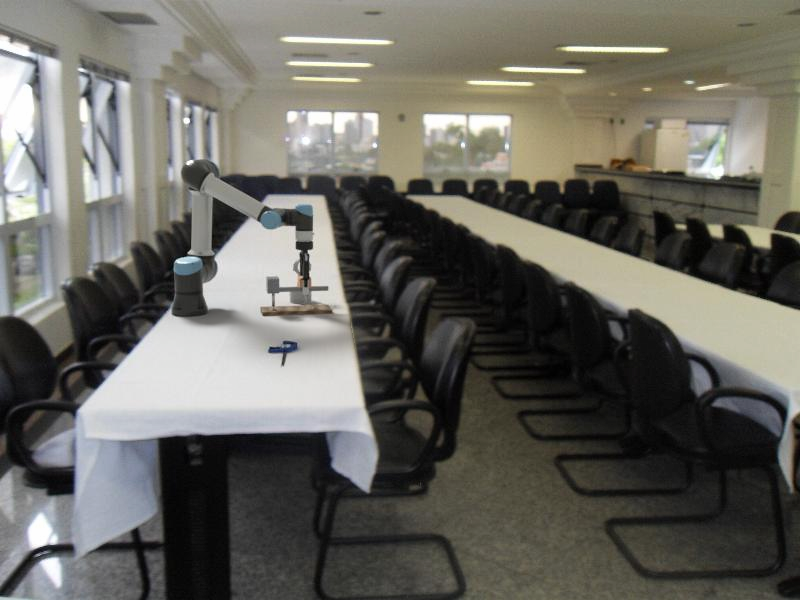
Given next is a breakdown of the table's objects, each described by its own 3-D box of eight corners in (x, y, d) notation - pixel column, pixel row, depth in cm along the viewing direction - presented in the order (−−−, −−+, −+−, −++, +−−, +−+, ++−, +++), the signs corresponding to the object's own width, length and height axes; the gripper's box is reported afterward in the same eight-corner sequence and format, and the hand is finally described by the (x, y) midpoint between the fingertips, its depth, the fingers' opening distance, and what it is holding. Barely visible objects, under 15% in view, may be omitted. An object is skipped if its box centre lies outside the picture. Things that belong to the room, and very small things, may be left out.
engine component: (285, 301, 371) (297, 304, 364) (285, 257, 368) (296, 260, 360) (305, 298, 378) (317, 301, 371) (305, 255, 374) (317, 258, 367)
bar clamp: (269, 340, 287) (297, 340, 288) (269, 346, 288) (297, 346, 289) (263, 368, 256) (294, 367, 257) (263, 375, 256) (294, 374, 257)
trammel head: (299, 308, 344) (299, 278, 342) (298, 305, 351) (297, 275, 349) (311, 307, 346) (311, 278, 343) (309, 304, 352) (309, 275, 350)
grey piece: (267, 310, 341) (267, 279, 339) (266, 307, 348) (266, 276, 345) (329, 308, 348) (329, 277, 345) (326, 305, 354) (326, 275, 352)
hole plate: (262, 315, 339) (262, 311, 338) (260, 310, 350) (260, 306, 350) (332, 313, 346) (332, 309, 345) (328, 307, 357) (328, 304, 357)
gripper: (316, 243, 334) (316, 296, 339) (310, 237, 353) (310, 288, 358) (298, 243, 332) (298, 297, 337) (293, 237, 352) (293, 289, 356)
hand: (304, 292), depth 347 cm, fingers closed on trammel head, 7 cm apart
